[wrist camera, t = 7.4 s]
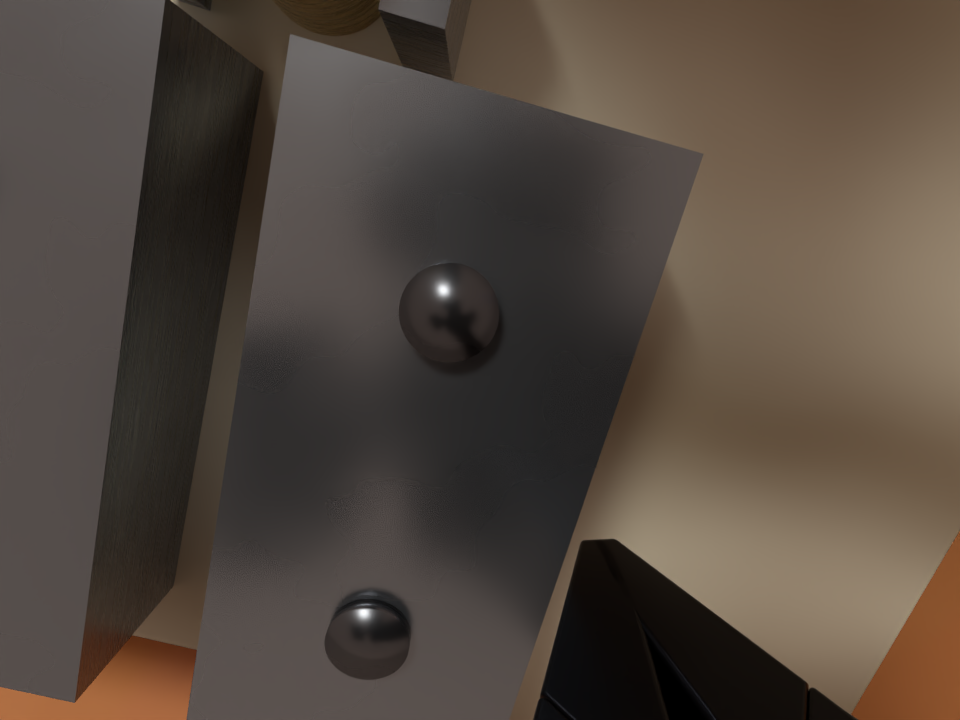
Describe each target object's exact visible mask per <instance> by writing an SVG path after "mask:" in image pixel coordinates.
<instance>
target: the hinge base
mask: <svg viewBox="0 0 960 720" xmlns="http://www.w3.org/2000/svg"><path fill="white" fill-rule="evenodd" d="M178 1H181V2H184V3H187V4H190V5H193V6H196V7H199V8H203V9H206V10H209V11H210V10H211V3H212V0H178ZM272 1H273V2H274V3H275V4H276V5H277V6H278V7H279V9H280V10H281V11H282V12H283V13H284V14H285V15H286V16H287V17H288V18H289V19H291V20H292V21H293V22H295V23H296V24H297V25H299V26H301V27H303V28H304V29H306V30H309V31H311V32H314V33H317V34H321V35H326V36H344V35H349V34H353V33H356V32H359V31H361V30H363V29H365V28H367V27H368V26H370V25H371V24H372V23H374V22H375V21H376V20H377V19H378V18H379V17H380V16H381V15H380V12H379V10H378V7H379V2H380V0H272ZM262 78H263V71H262V70H261V69H260V68H258V67H257V66H256V65H254V64H253V63H252V62H250V61H249V60H248V59H246V58H245V57H244V56H242V55H241V54H240V53H239V52H237V51H236V50H235V49H233V48H232V47H231V46H229V45H228V44H227V43H225V42H224V41H223V40H222V39H220V38H219V37H218V36H216V35H215V34H214V33H212V32H211V31H210V30H208V29H207V28H206V27H204V26H203V25H202V24H201V23H199V22H198V21H197V20H195V19H194V18H193V17H191V16H190V15H189V14H187V13H186V12H185V11H184V10H182V9H181V8H180V7H178V6H177V5H176V4H174V3H173V2H172V1H170V0H0V687H4V688H8V689H13V690H18V691H22V692H27V693H32V694H36V695H41V696H46V697H50V698H55V699H60V700H64V701H69V702H74V703H75V702H76V701H77V699H78V698H79V697H80V696H81V695H82V694H83V692H84V691H85V690H86V689H87V688H88V686H89V685H90V684H91V683H92V682H93V681H94V679H95V678H96V677H97V676H98V675H99V674H100V672H101V671H102V670H103V669H104V668H105V666H106V665H107V664H108V663H109V662H110V661H111V659H112V658H113V657H114V656H115V655H116V654H117V652H118V651H119V650H120V649H121V648H122V646H123V645H124V644H125V643H126V642H127V641H128V639H129V638H130V637H131V636H132V635H133V633H134V632H135V631H136V630H137V629H138V628H139V626H140V625H141V624H142V623H143V622H144V621H145V619H146V618H147V617H148V616H149V615H150V613H151V612H152V611H153V610H154V609H155V608H156V606H157V605H158V604H159V603H160V602H161V601H162V599H163V598H164V597H165V596H166V595H167V593H168V592H169V591H170V590H171V589H172V588H173V586H174V581H175V575H176V569H177V564H178V558H179V552H180V547H181V541H182V535H183V529H184V524H185V518H186V512H187V507H188V501H189V495H190V489H191V484H192V478H193V472H194V467H195V461H196V455H197V449H198V444H199V438H200V432H201V427H202V421H203V415H204V409H205V404H206V398H207V392H208V387H209V381H210V375H211V370H212V364H213V358H214V352H215V347H216V341H217V335H218V330H219V324H220V318H221V312H222V307H223V301H224V295H225V290H226V284H227V278H228V272H229V267H230V261H231V255H232V250H233V244H234V238H235V232H236V227H237V221H238V215H239V210H240V204H241V198H242V192H243V187H244V181H245V175H246V170H247V164H248V158H249V152H250V147H251V141H252V135H253V130H254V124H255V118H256V112H257V107H258V101H259V95H260V90H261V84H262Z"/></svg>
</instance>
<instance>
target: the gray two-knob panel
mask: <svg viewBox="0 0 960 720" xmlns="http://www.w3.org/2000/svg"><path fill="white" fill-rule="evenodd" d="M471 1H472V0H380V2H379V7H378V10H379V12H380V15H381V17H382V19H383V22H384V24H385V26H386V29H387V31H388V33H389V36H390V38H391V40H392V43H393V45H394V47H395V50H396V52H397V54H398V57H399V59H400V61H401V64H402V66H403V67H402V66H399V65H395V64H392V63H388V62H385V61H382V60H378V59H375V58H371V57H368V56H364V55H361V54H357V53H354V52H351V51H347V50H344V49H340V48H337V47H333V46H330V45H326V44H323V43H320V42H316V41H313V40H309V39H306V38H302V37H299V36H295V35H292V34H290V39H289V45H288V52H287V58H286V65H285V72H284V78H283V85H282V91H281V98H280V105H279V111H278V118H277V125H276V131H275V138H274V144H273V151H272V158H271V164H270V171H269V178H268V184H267V191H266V197H265V204H264V211H263V217H262V224H261V230H260V237H259V244H258V250H257V257H256V264H255V270H254V277H253V283H252V290H251V297H250V303H249V310H248V317H247V323H246V330H245V336H244V343H243V350H242V356H241V363H240V369H239V376H238V383H237V389H236V396H235V403H234V409H233V416H232V422H231V429H230V436H229V442H228V449H227V456H226V462H225V469H224V475H223V482H222V489H221V495H220V502H219V508H218V515H217V522H216V528H215V535H214V542H213V548H212V555H211V561H210V568H209V575H208V581H207V588H206V595H205V601H204V608H203V614H202V621H201V628H200V634H199V641H198V647H197V654H196V661H195V667H194V674H193V681H192V687H191V694H190V700H189V707H188V714H187V720H509V719H510V716H511V713H512V710H513V707H514V704H515V701H516V698H517V695H518V692H519V689H520V687H521V684H522V681H523V678H524V675H525V672H526V669H527V666H528V663H529V660H530V657H531V655H532V652H533V649H534V646H535V643H536V640H537V637H538V634H539V631H540V628H541V625H542V623H543V620H544V617H545V614H546V611H547V608H548V605H549V602H550V599H551V596H552V593H553V591H554V588H555V585H556V582H557V579H558V576H559V573H560V570H561V567H562V564H563V562H564V559H565V556H566V553H567V550H568V547H569V544H570V541H571V538H572V535H573V532H574V530H575V527H576V524H577V521H578V518H579V515H580V512H581V509H582V506H583V503H584V500H585V498H586V495H587V492H588V489H589V486H590V483H591V480H592V477H593V474H594V471H595V468H596V466H597V463H598V460H599V457H600V454H601V451H602V448H603V445H604V442H605V439H606V436H607V434H608V431H609V428H610V425H611V422H612V419H613V416H614V413H615V410H616V407H617V404H618V402H619V399H620V396H621V393H622V390H623V387H624V384H625V381H626V378H627V375H628V373H629V370H630V367H631V364H632V361H633V358H634V355H635V352H636V349H637V346H638V343H639V341H640V338H641V335H642V332H643V329H644V326H645V323H646V320H647V317H648V314H649V311H650V309H651V306H652V303H653V300H654V297H655V294H656V291H657V288H658V285H659V282H660V279H661V277H662V274H663V271H664V268H665V265H666V262H667V259H668V256H669V253H670V250H671V247H672V245H673V242H674V239H675V236H676V233H677V230H678V227H679V224H680V221H681V218H682V216H683V213H684V210H685V207H686V204H687V201H688V198H689V195H690V192H691V189H692V186H693V184H694V181H695V178H696V175H697V172H698V169H699V166H700V163H701V160H702V157H703V154H702V153H699V152H695V151H692V150H688V149H685V148H681V147H678V146H675V145H671V144H668V143H664V142H661V141H657V140H654V139H650V138H647V137H644V136H640V135H637V134H633V133H630V132H626V131H623V130H619V129H616V128H613V127H609V126H606V125H602V124H599V123H595V122H592V121H588V120H585V119H581V118H578V117H575V116H571V115H568V114H564V113H561V112H557V111H554V110H550V109H547V108H544V107H540V106H537V105H533V104H530V103H526V102H523V101H519V100H516V99H513V98H509V97H506V96H502V95H499V94H495V93H492V92H488V91H485V90H482V89H478V88H475V87H471V86H468V85H464V84H461V83H457V82H454V76H455V72H456V67H457V63H458V59H459V54H460V50H461V45H462V41H463V36H464V32H465V27H466V23H467V18H468V14H469V10H470V5H471Z"/></svg>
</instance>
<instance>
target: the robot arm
mask: <svg viewBox="0 0 960 720" xmlns="http://www.w3.org/2000/svg"><path fill="white" fill-rule="evenodd" d="M533 720H858V719H856V718H855V717H853V716H852V715H851V714H849V713H848V712H847V711H845V710H844V709H842V708H841V707H840V706H838V705H837V704H836V703H834V702H833V701H832V700H830V699H829V698H828V697H826V696H825V695H824V694H822V693H821V692H820V691H818V690H817V689H816V688H813V687H811V688H810V689H809V685H808V683H807V682H806V681H805V680H803V679H802V678H801V677H799V676H798V675H797V674H795V673H794V672H793V671H791V670H790V669H789V668H787V667H786V666H785V665H783V664H782V663H781V662H779V661H778V660H777V659H775V658H774V657H773V656H771V655H770V654H769V653H767V652H766V651H765V650H763V649H762V648H761V647H759V646H758V645H757V644H755V643H754V642H753V641H751V640H750V639H749V638H747V637H746V636H745V635H743V634H742V633H741V632H739V631H738V630H737V629H735V628H734V627H733V626H731V625H730V624H729V623H727V622H726V621H725V620H723V619H722V618H721V617H719V616H718V615H717V614H715V613H714V612H713V611H711V610H710V609H709V608H707V607H706V606H705V605H703V604H702V603H701V602H699V601H698V600H697V599H695V598H694V597H693V596H691V595H690V594H689V593H687V592H686V591H685V590H683V589H682V588H681V587H679V586H678V585H677V584H675V583H674V582H673V581H671V580H670V579H669V578H667V577H666V576H665V575H663V574H662V573H661V572H659V571H658V570H657V569H655V568H654V567H653V566H651V565H650V564H649V563H647V562H646V561H645V560H643V559H642V558H641V557H639V556H638V555H637V554H635V553H634V552H633V551H631V550H630V549H629V548H627V547H626V546H625V545H623V544H622V543H621V542H619V541H618V540H616V539H594V540H583V541H581V543H580V546H579V549H578V553H577V557H576V561H575V565H574V568H573V572H572V576H571V580H570V583H569V587H568V591H567V595H566V599H565V602H564V606H563V610H562V614H561V617H560V621H559V625H558V629H557V633H556V636H555V640H554V644H553V648H552V651H551V655H550V659H549V663H548V667H547V670H546V674H545V678H544V682H543V685H542V689H541V693H540V699H539V700H538V703H537V707H536V710H535V714H534V718H533Z"/></svg>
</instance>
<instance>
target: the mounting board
mask: <svg viewBox="0 0 960 720" xmlns="http://www.w3.org/2000/svg"><path fill="white" fill-rule="evenodd" d="M170 1H172V2H173V3H174V4H176V5H177V6H178V7H180V8H181V9H182V10H184V11H185V12H186V13H187V14H189V15H190V16H191V17H193V18H194V19H195V20H197V21H198V22H199V23H201V24H202V25H203V26H204V27H206V28H207V29H208V30H210V31H211V32H212V33H214V34H215V35H216V36H218V37H219V38H220V39H222V40H223V41H224V42H225V43H227V44H228V45H229V46H231V47H232V48H233V49H235V50H236V51H237V52H239V53H240V54H241V55H242V56H244V57H245V58H246V59H248V60H249V61H250V62H252V63H253V64H254V65H256V66H257V67H258V68H260V69H261V70H262V71H263V78H262V84H261V90H260V95H259V101H258V107H257V112H256V118H255V124H254V130H253V135H252V141H251V147H250V152H249V158H248V164H247V170H246V175H245V181H244V187H243V192H242V198H241V204H240V210H239V215H238V221H237V227H236V232H235V238H234V244H233V250H232V255H231V261H230V267H229V272H228V278H227V284H226V290H225V295H224V301H223V307H222V312H221V318H220V324H219V330H218V335H217V341H216V347H215V352H214V358H213V364H212V370H211V375H210V381H209V387H208V392H207V398H206V404H205V409H204V415H203V421H202V427H201V432H200V438H199V444H198V449H197V455H196V461H195V467H194V472H193V478H192V484H191V489H190V495H189V501H188V507H187V512H186V518H185V524H184V529H183V535H182V541H181V547H180V552H179V558H178V564H177V569H176V575H175V581H174V586H173V588H172V589H171V590H170V591H169V592H168V593H167V595H166V596H165V597H164V598H163V599H162V601H161V602H160V603H159V604H158V605H157V606H156V608H155V609H154V610H153V611H152V612H151V613H150V615H149V616H148V617H147V618H146V619H145V621H144V622H143V623H142V624H141V625H140V626H139V628H138V629H137V630H136V631H135V632H134V633H133V636H138V637H142V638H147V639H151V640H155V641H160V642H164V643H169V644H173V645H177V646H182V647H186V648H191V649H195V650H197V647H198V641H199V634H200V628H201V621H202V614H203V608H204V601H205V595H206V588H207V581H208V575H209V568H210V561H211V555H212V548H213V542H214V535H215V528H216V522H217V515H218V508H219V502H220V495H221V489H222V482H223V475H224V469H225V462H226V456H227V449H228V442H229V436H230V429H231V422H232V416H233V409H234V403H235V396H236V389H237V383H238V376H239V369H240V363H241V356H242V350H243V343H244V336H245V330H246V323H247V317H248V310H249V303H250V297H251V290H252V283H253V277H254V270H255V264H256V257H257V250H258V244H259V237H260V230H261V224H262V217H263V211H264V204H265V197H266V191H267V184H268V178H269V171H270V164H271V158H272V151H273V144H274V138H275V131H276V125H277V118H278V111H279V105H280V98H281V91H282V85H283V78H284V72H285V65H286V58H287V52H288V45H289V39H290V34H292V35H295V36H299V37H302V38H306V39H309V40H313V41H316V42H320V43H323V44H326V45H330V46H333V47H337V48H340V49H344V50H347V51H351V52H354V53H357V54H361V55H364V56H368V57H371V58H375V59H378V60H382V61H385V62H388V63H392V64H395V65H399V66H402V64H401V61H400V59H399V57H398V54H397V52H396V50H395V47H394V45H393V43H392V40H391V38H390V36H389V33H388V31H387V29H386V26H385V24H384V22H383V19H382V17H381V16H380V17H379V18H378V19H377V20H376V21H375V22H374V23H372V24H371V25H370V26H368V27H367V28H365V29H363V30H361V31H359V32H356V33H353V34H349V35H344V36H326V35H321V34H317V33H314V32H311V31H309V30H306V29H304V28H303V27H301V26H299V25H297V24H296V23H295V22H293V21H292V20H291V19H289V18H288V17H287V16H286V15H285V14H284V13H283V12H282V11H281V10H280V9H279V7H278V6H277V5H276V4H275V3H274V2H273V1H272V0H212V3H211V10H210V11H209V10H206V9H203V8H199V7H196V6H193V5H190V4H187V3H184V2H181V1H178V0H170ZM402 67H403V66H402ZM454 82H457V83H461V84H464V85H468V86H471V87H475V88H478V89H482V90H485V91H488V92H492V93H495V94H499V95H502V96H506V97H509V98H513V99H516V100H519V101H523V102H526V103H530V104H533V105H537V106H540V107H544V108H547V109H550V110H554V111H557V112H561V113H564V114H568V115H571V116H575V117H578V118H581V119H585V120H588V121H592V122H595V123H599V124H602V125H606V126H609V127H613V128H616V129H619V130H623V131H626V132H630V133H633V134H637V135H640V136H644V137H647V138H650V139H654V140H657V141H661V142H664V143H668V144H671V145H675V146H678V147H681V148H685V149H688V150H692V151H695V152H699V153H702V154H703V157H702V160H701V163H700V166H699V169H698V172H697V175H696V178H695V181H694V184H693V186H692V189H691V192H690V195H689V198H688V201H687V204H686V207H685V210H684V213H683V216H682V218H681V221H680V224H679V227H678V230H677V233H676V236H675V239H674V242H673V245H672V247H671V250H670V253H669V256H668V259H667V262H666V265H665V268H664V271H663V274H662V277H661V279H660V282H659V285H658V288H657V291H656V294H655V297H654V300H653V303H652V306H651V309H650V311H649V314H648V317H647V320H646V323H645V326H644V329H643V332H642V335H641V338H640V341H639V343H638V346H637V349H636V352H635V355H634V358H633V361H632V364H631V367H630V370H629V373H628V375H627V378H626V381H625V384H624V387H623V390H622V393H621V396H620V399H619V402H618V404H617V407H616V410H615V413H614V416H613V419H612V422H611V425H610V428H609V431H608V434H607V436H606V439H605V442H604V445H603V448H602V451H601V454H600V457H599V460H598V463H597V466H596V468H595V471H594V474H593V477H592V480H591V483H590V486H589V489H588V492H587V495H586V498H585V500H584V503H583V506H582V509H581V512H580V515H579V518H578V521H577V524H576V527H575V530H574V532H573V535H572V538H571V541H570V544H569V547H568V550H567V553H566V556H565V559H564V562H563V564H562V567H561V570H560V573H559V576H558V579H557V582H556V585H555V588H554V591H553V593H552V596H551V599H550V602H549V605H548V608H547V611H546V614H545V617H544V620H543V623H542V625H541V628H540V631H539V634H538V637H537V640H536V643H535V646H534V649H533V652H532V655H531V657H530V660H529V663H528V666H527V669H526V672H525V675H524V678H523V681H522V684H521V687H520V689H519V692H518V695H517V698H516V701H515V704H514V707H513V710H512V713H511V716H510V719H509V720H533V718H534V714H535V710H536V707H537V703H538V700H539V699H540V693H541V689H542V685H543V682H544V678H545V674H546V670H547V667H548V663H549V659H550V655H551V651H552V648H553V644H554V640H555V636H556V633H557V629H558V625H559V621H560V617H561V614H562V610H563V606H564V602H565V599H566V595H567V591H568V587H569V583H570V580H571V576H572V572H573V568H574V565H575V561H576V557H577V553H578V549H579V546H580V543H581V541H583V540H594V539H616V540H618V541H619V542H621V543H622V544H623V545H625V546H626V547H627V548H629V549H630V550H631V551H633V552H634V553H635V554H637V555H638V556H639V557H641V558H642V559H643V560H645V561H646V562H647V563H649V564H650V565H651V566H653V567H654V568H655V569H657V570H658V571H659V572H661V573H662V574H663V575H665V576H666V577H667V578H669V579H670V580H671V581H673V582H674V583H675V584H677V585H678V586H679V587H681V588H682V589H683V590H685V591H686V592H687V593H689V594H690V595H691V596H693V597H694V598H695V599H697V600H698V601H699V602H701V603H702V604H703V605H705V606H706V607H707V608H709V609H710V610H711V611H713V612H714V613H715V614H717V615H718V616H719V617H721V618H722V619H723V620H725V621H726V622H727V623H729V624H730V625H731V626H733V627H734V628H735V629H737V630H738V631H739V632H741V633H742V634H743V635H745V636H746V637H747V638H749V639H750V640H751V641H753V642H754V643H755V644H757V645H758V646H759V647H761V648H762V649H763V650H765V651H766V652H767V653H769V654H770V655H771V656H773V657H774V658H775V659H777V660H778V661H779V662H781V663H782V664H783V665H785V666H786V667H787V668H789V669H790V670H791V671H793V672H794V673H795V674H797V675H798V676H799V677H801V678H802V679H803V680H805V681H806V682H807V683H808V685H809V689H810V688H811V687H813V688H816V689H817V690H818V691H820V692H821V693H822V694H824V695H825V696H826V697H828V698H829V699H830V700H832V701H833V702H834V703H836V704H837V705H838V706H840V707H841V708H842V709H844V710H845V711H847V712H848V713H849V714H851V713H852V712H853V710H854V708H855V707H856V705H857V703H858V701H859V700H860V698H861V696H862V695H863V693H864V691H865V690H866V688H867V686H868V685H869V683H870V681H871V679H872V678H873V676H874V674H875V673H876V671H877V669H878V668H879V666H880V664H881V663H882V661H883V659H884V657H885V656H886V654H887V652H888V651H889V649H890V647H891V646H892V644H893V642H894V641H895V639H896V637H897V635H898V634H899V632H900V630H901V629H902V627H903V625H904V624H905V622H906V620H907V619H908V617H909V615H910V614H911V612H912V610H913V608H914V607H915V605H916V603H917V602H918V600H919V598H920V597H921V595H922V593H923V592H924V590H925V588H926V586H927V585H928V583H929V581H930V580H931V578H932V576H933V575H934V573H935V571H936V570H937V568H938V566H939V564H940V563H941V561H942V559H943V558H944V556H945V554H946V553H947V551H948V549H949V548H950V546H951V544H952V542H953V541H954V539H955V537H956V536H957V534H958V532H959V531H960V0H472V1H471V5H470V10H469V14H468V18H467V23H466V27H465V32H464V36H463V41H462V45H461V50H460V54H459V59H458V63H457V67H456V72H455V76H454Z"/></svg>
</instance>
